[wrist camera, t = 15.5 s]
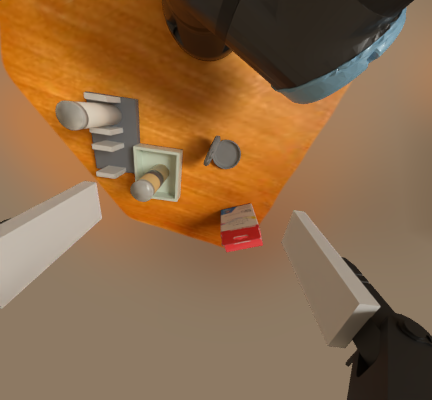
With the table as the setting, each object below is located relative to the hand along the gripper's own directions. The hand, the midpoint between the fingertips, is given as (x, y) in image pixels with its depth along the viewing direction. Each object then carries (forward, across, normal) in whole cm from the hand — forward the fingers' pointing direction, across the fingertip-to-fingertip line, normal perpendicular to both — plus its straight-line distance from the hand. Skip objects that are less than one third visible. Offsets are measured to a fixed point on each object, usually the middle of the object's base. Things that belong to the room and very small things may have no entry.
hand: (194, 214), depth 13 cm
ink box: (+33, +9, -18) cm, 39 cm away
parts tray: (+33, -12, -9) cm, 36 cm away
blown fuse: (+32, -12, -9) cm, 35 cm away
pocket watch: (+33, +2, -2) cm, 33 cm away
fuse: (+31, -22, +2) cm, 38 cm away
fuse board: (+33, -22, -2) cm, 39 cm away
